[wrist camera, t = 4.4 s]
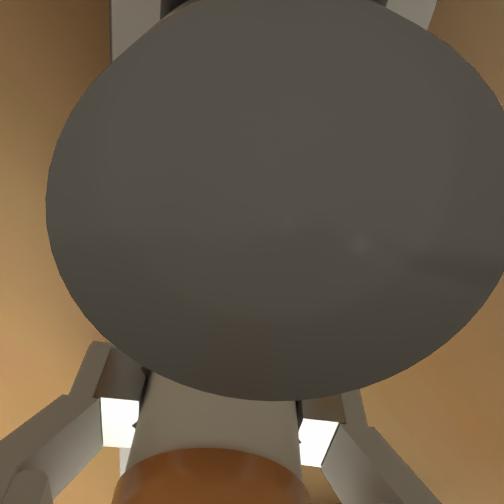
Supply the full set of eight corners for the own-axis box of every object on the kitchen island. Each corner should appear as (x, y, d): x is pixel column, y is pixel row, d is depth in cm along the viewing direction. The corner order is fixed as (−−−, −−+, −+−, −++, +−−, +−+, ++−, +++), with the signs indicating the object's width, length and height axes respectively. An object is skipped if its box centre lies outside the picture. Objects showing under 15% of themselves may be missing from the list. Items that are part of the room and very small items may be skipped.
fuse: (352, -34, 11) (635, 51, 3) (316, 118, 13) (418, 417, 5) (197, -62, 11) (12, -61, 3) (186, 98, 13) (64, 380, 5)
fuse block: (455, -122, 11) (526, -143, 8) (280, 424, 23) (284, 493, 20) (117, -192, 10) (63, -243, 7) (123, 408, 23) (104, 477, 20)
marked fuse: (297, 217, 15) (344, 561, 7) (275, 303, 17) (292, 644, 9) (180, 201, 15) (83, 539, 6) (174, 291, 17) (94, 631, 9)
